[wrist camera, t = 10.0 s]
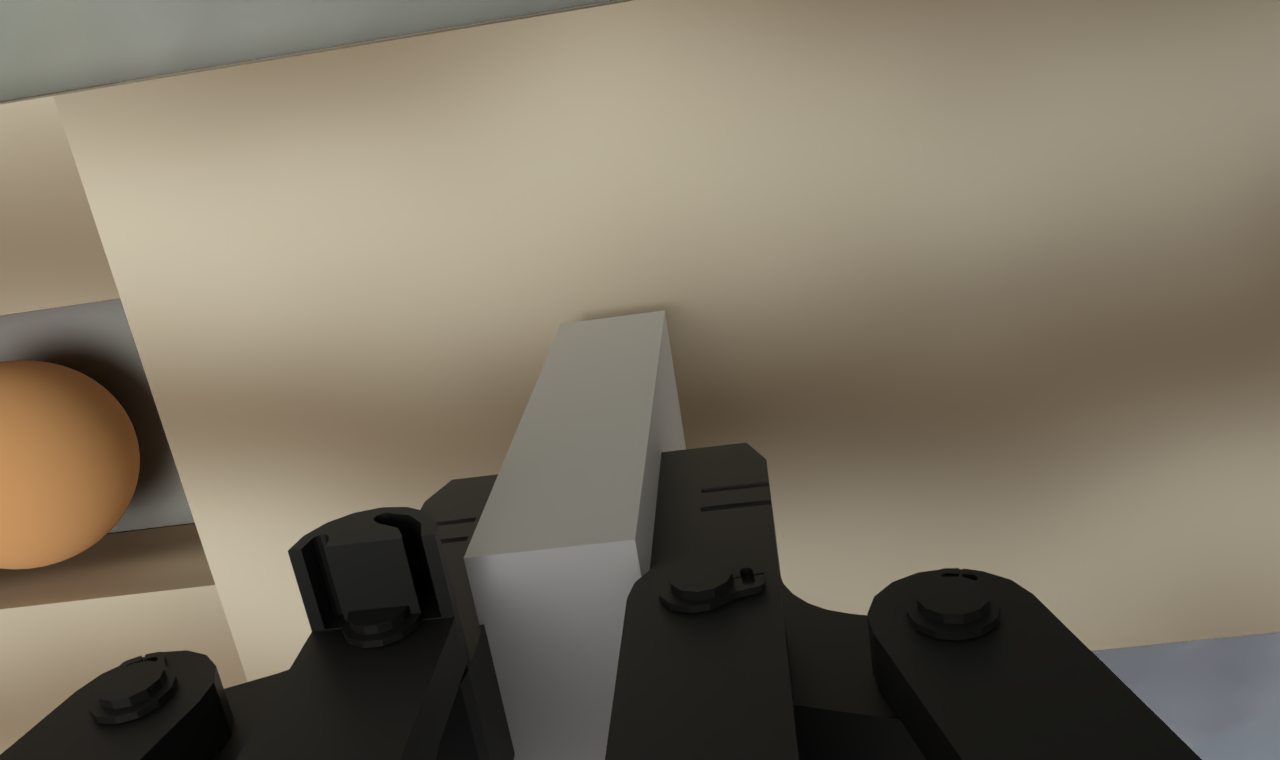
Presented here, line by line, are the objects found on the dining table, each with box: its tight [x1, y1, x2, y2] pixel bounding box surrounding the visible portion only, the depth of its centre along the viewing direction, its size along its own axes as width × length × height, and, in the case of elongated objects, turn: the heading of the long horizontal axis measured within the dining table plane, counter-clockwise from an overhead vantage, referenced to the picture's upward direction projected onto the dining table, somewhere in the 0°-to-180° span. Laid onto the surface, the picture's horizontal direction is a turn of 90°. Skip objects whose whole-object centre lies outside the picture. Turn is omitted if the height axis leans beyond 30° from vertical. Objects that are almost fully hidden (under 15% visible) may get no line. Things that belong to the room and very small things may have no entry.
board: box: [0, 0, 1280, 755], centre depth 18 cm, size 11×30×2 cm, turn 99°
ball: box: [0, 360, 140, 569], centre depth 18 cm, size 4×4×4 cm
